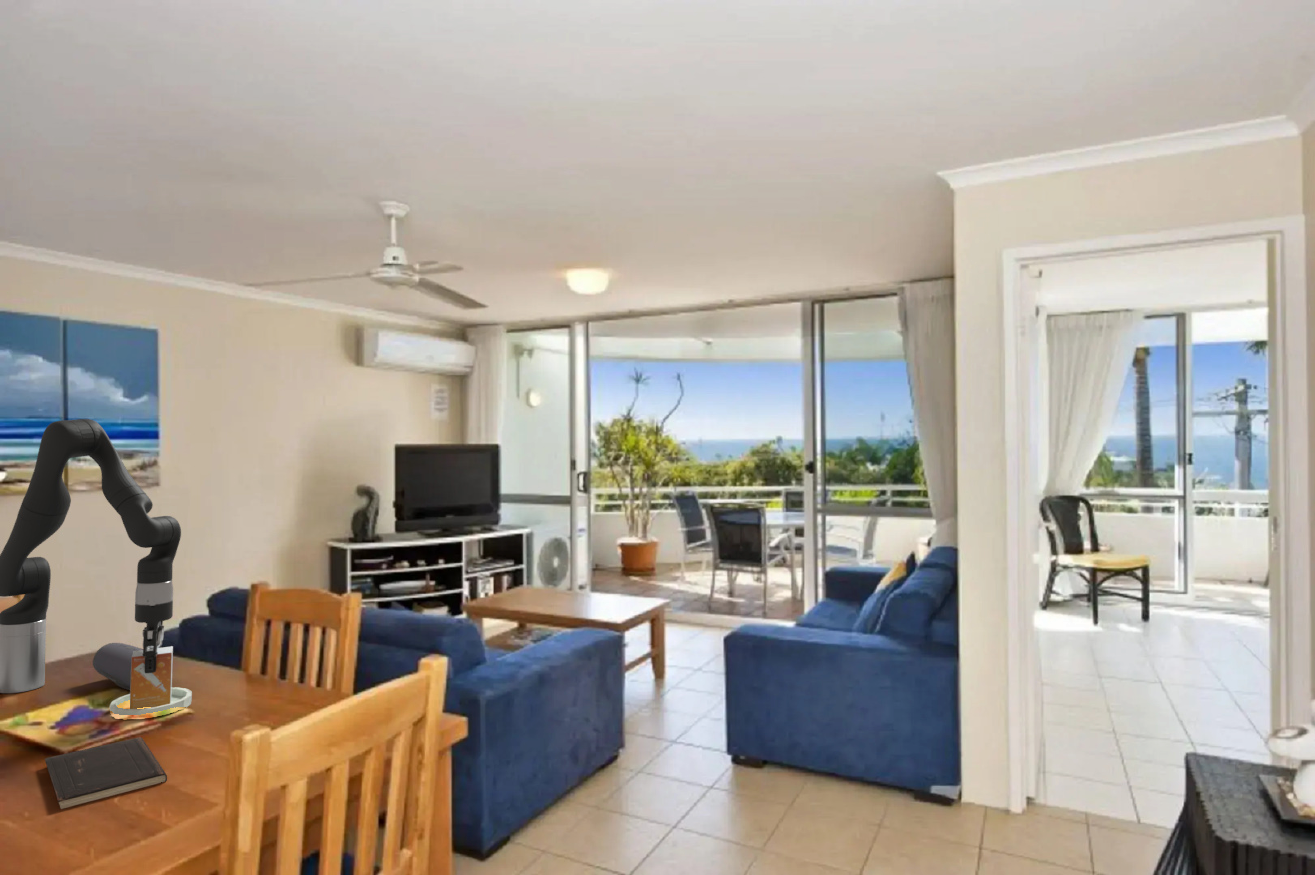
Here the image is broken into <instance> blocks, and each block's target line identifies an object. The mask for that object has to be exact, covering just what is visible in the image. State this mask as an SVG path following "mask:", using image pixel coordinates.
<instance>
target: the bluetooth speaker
mask: <svg viewBox="0 0 1315 875" xmlns="http://www.w3.org/2000/svg"><path fill="white" fill-rule="evenodd" d="M135 650H143V648H140V647H138V646H134V645H130V644H127V643H122V642H121V643H120V642H110V643H106V644H105V645H103V646H101V647H100V648H98V650H97V651H96V653H95V654H94V656H93V659H92V666H93V668H94V670H95V671H96V672H97V673H98V674H100V675H101V676H103V677H104V678H107V679H108V680H110V681H112V682H114V683H115V685H116V686H118V687H120V688H122V689H125V690H127V691H130V685H131V659H132V655H133V651H135Z"/></svg>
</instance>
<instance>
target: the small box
mask: <svg viewBox="0 0 1315 875" xmlns="http://www.w3.org/2000/svg"><path fill="white" fill-rule="evenodd" d="M147 651H153V648H152V649H150V648H148V650H147ZM157 652H158V655H157V660H156V671H155V672H154V673H145V657H143V650H135V651H133V655H132V659H131V685H130V690H129V694H130V709H137V708H143V707H157V706H162V705H166V704H170V703H171V694H172V687H173V658H174V657H173V655H174V654H173V653H174V646H172V645H171V646H165V647H164V646H163V647H161V648H158V649H157Z"/></svg>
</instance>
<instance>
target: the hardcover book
mask: <svg viewBox="0 0 1315 875" xmlns="http://www.w3.org/2000/svg"><path fill="white" fill-rule="evenodd" d="M44 762H45V764H46V769H47V772H48V774H49V777H50V780H51V785H52V787H53V790H54V793H55V795H56V799H57V802H58V805H59V808H60V809H61V810H64V809H66V808H70V807H74V806H78V805H82V804H85V803H89V802H92V801H93V802H94V801H97V800H100V799H101V800H102V799H105V798H108V797H112V796H116V795H120V794H124V793H126V792H127V793H128V792H130V791H134V790H139V789H142V788H147V787H150V786H153V785H157V784H161V782H162V783H165V782H166V781H168V775H167V773H166V772H165V770H164V769H163V768H162V766H161V764H160V762H159V761H158V760H157V758H156V757H155V754H154V753H153V752H152V750H150V747H149V746H148V744H147V743H146V741H145V740H144V739H143V738H142V737H134V738H130V739H126V740H121V741H116V742H112V743H108V744H107V743H106V744H103V745H99V746H94V747H90V748H84V749H81V750H76V751H70V752H67V753H63V754H59V755H54V756H49V757H46V758H44ZM166 783H167V782H166Z"/></svg>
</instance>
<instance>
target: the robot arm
mask: <svg viewBox="0 0 1315 875" xmlns="http://www.w3.org/2000/svg"><path fill="white" fill-rule="evenodd" d="M81 457H90V458H91V459H92V460H93V461H94V462H95V463H96V464H97V465H98V467H99V469H100V472H101V491H102V493H103V495H104V496H103V497H104V498H105V500H106V501H107V502H108V503H109V504H110V505H111V507H112V508H113V509H114V510H115V511H116V513H117V514H118V515H119V517H120V519H121V522H122V524H123V526H124V529H125V532H126V534H127V536H128V538H129V540H130V541H131V542H132V543H133V544H134V545H136V546H137V547H140V548H143V549H148V548H151V549H150V552H149V554H147V555H146V556H144V557H142V558H141V559H139V560H138V562H137V568H136V569H137V570H136V571H137V573H136V588H135V592H134V593H135V598H134V601H135V602H134V621H135V622H136V623H140V624H143V623H144V624H146V626H144V628H143V630H142V637H143V638H142V649H143V657H145V673H154V672H155V671H156V660H157V655H158V652H157V649H158V648H162V645H163V640H164V633H165V625H164V622H165V621H169V620H171V619H172V618H173V613H174V610H173V609H174V586H173V585H174V584H173V563H174V561H175V559H176V558H175V557H176V555H177V552H178V551H177V550H178V549H179V548H178V547H179V544H180V541H181V537H182V529H181V526H180V523H179V521H178V520H177V519H176V518H175V517H174V516H171V515H170V516H169V515H163V516H153V517H150V515H149V513H150V512H151V511H152V509H153V507H154V506H153V502H152V499H151V498H150V497H149V496H148V494H147V493H146V492H145V491H144V490H143V488H142V487H141V486H140V485H139V484H138V482H136V481H135V480H134V477H132V475H131V474H130V472H129V471H128V469H127V468H126V466H125V464H124V462H123V461H122V459H121V457H120V455H119V453H118V452H117V449H116V448H115V446H114V444H113V443H112V441H111V439H110V437H109V435H108V434H107V432H106V430H105V429H104V428H103V426H101V425H100V424H99V423H98V422H97V421H95V420H94V419H89V418H79V419H67V420H66V419H65V420H64V419H63V420H58V421H52V422H51V423H49V424H48V426H46V428H45V429H44V432H43V434H42V437H41V440H40V443H39V448H38V453H37V456H36V462H35V465H34V469H33V473H32V475H31V477H30V478H31V479H30V480H29V485H28V487H27V490H26V493H25V494H24V497H23V498H22V501H21V503H20V506H19V510H18V512H17V515H16V516H17V517H16V520H15V522H14V525H13V527H12V530H11V532H10V535H9V537H8V539H7V541H6V544H5V545H4V547H3V549H2V551H1V553H0V597H1V598H2V597H4V598H5V597H15V596H16V597H17V596H22V595H24V596H23V598H22V599H21V600H20V601H18V602H16V603H15V604H13V605H11V606H9V607H7V608H5V609H3V610H2V611H0V694H15V693H16V694H17V693H23V692H28V691H32V690H36V689H38V688H41V687H43V686H44V685H45V684H46V683H45V682H46V679H45V678H46V650H47V649H46V645H47V644H46V641H47V640H46V639H47V612H48V610H49V608H48V607H49V604H50V603H49V600H50V590H51V589H50V588H51V576H52V575H51V566H50V563H49V561H48V560H47V559H46V558H45V557H41V556H32V557H28V556H30V554H31V553H32V552H33V551H34V550H35V549H36V548H38V547H39V546H40V545H42V544H43V543H44V542H46V541H47V540H48V539H49V538H50V537H51V536H53V535H54V534H55V533H56V532H57V531H58V530H59V529H60V528H61V527H62V525H63V524H64V522H65V520H66V517H67V515H68V513H69V509H70V507H71V502H72V498H71V495H70V492H69V489H68V488H67V485H66V484H65V482H64V480H63V474H64V470H65V467H66V465H67V463H68V461H69V460H70V459H73V458H81ZM152 648H153V651H147V650H148V649H152Z"/></svg>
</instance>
